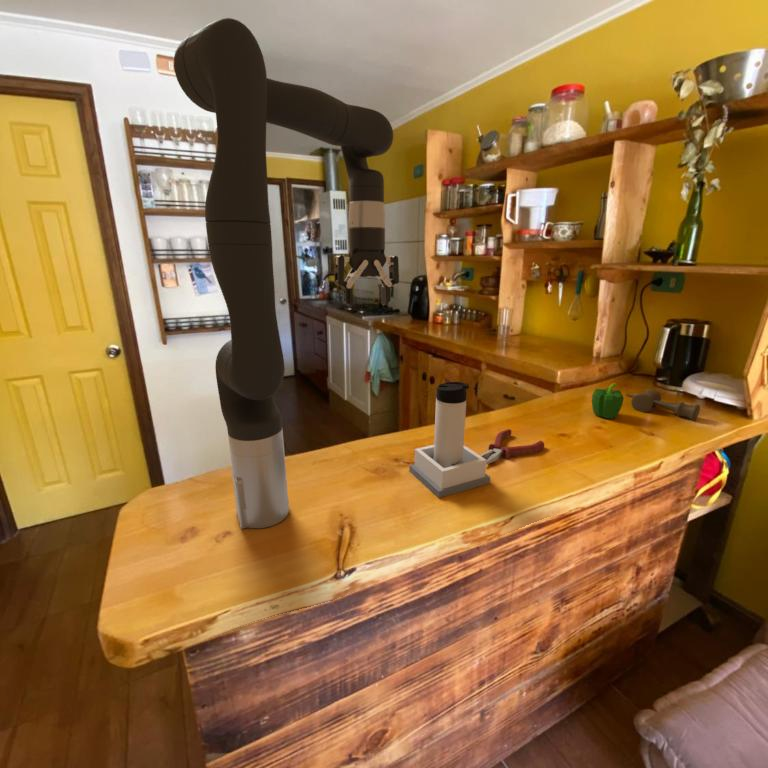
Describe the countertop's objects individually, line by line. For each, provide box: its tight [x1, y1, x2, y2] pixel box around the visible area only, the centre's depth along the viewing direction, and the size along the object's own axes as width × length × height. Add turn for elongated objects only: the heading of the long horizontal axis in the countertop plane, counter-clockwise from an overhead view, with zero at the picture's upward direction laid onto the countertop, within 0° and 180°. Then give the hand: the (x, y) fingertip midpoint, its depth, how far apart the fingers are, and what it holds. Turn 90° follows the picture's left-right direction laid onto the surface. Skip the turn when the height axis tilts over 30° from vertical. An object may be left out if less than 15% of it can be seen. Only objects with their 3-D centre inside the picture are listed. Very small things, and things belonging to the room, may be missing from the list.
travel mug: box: [433, 381, 470, 468], centre depth 88 cm, size 6×7×20 cm
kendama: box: [624, 388, 701, 422], centre depth 128 cm, size 6×10×20 cm
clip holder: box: [408, 444, 491, 499], centre depth 90 cm, size 13×12×6 cm
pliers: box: [479, 428, 545, 465], centre depth 102 cm, size 12×20×3 cm, turn 131°
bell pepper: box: [591, 382, 624, 420], centre depth 124 cm, size 8×8×10 cm
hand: (367, 305), depth 91 cm, fingers open, 8 cm apart
